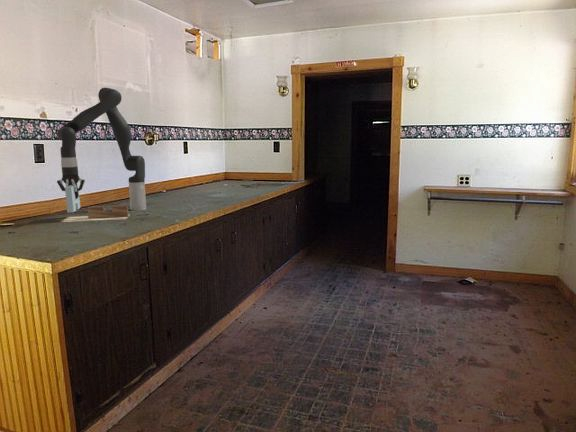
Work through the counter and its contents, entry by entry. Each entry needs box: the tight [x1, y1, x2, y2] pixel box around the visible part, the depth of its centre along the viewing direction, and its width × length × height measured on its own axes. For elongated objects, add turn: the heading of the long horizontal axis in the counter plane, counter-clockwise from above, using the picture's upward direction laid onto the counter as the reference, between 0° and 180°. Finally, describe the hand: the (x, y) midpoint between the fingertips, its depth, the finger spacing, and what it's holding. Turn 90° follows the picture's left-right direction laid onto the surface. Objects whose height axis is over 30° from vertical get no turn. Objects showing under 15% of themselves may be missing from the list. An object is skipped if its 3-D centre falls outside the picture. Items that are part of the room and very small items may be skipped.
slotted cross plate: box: [64, 183, 81, 213], centre depth 228 cm, size 14×3×13 cm, turn 12°
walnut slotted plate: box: [87, 205, 129, 219], centre depth 232 cm, size 2×20×6 cm, turn 103°
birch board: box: [60, 213, 131, 223], centre depth 232 cm, size 16×32×1 cm, turn 103°
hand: (72, 198), depth 228 cm, fingers closed on slotted cross plate, 3 cm apart
